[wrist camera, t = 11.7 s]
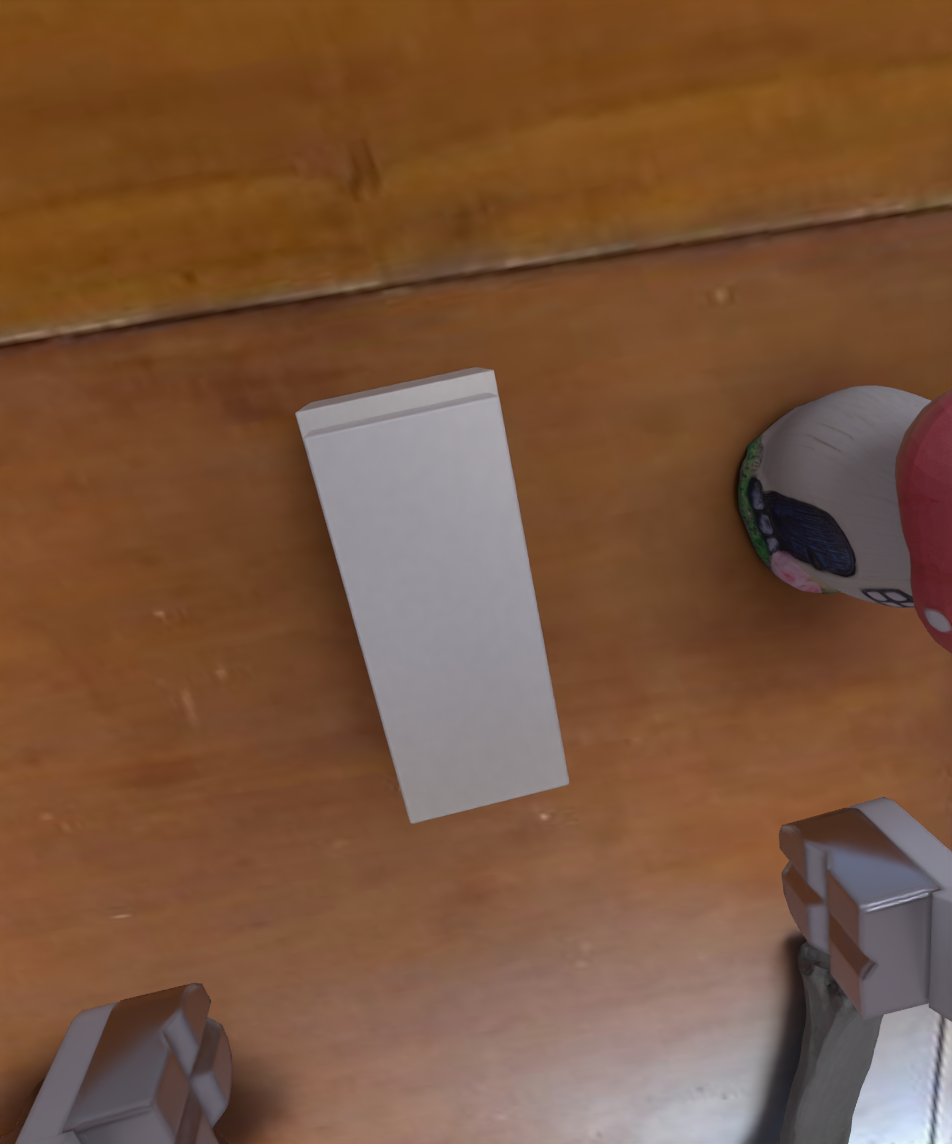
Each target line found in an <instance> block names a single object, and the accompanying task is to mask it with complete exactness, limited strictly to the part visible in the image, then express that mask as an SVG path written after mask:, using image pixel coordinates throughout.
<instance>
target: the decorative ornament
mask: <svg viewBox="0 0 952 1144" xmlns="http://www.w3.org/2000/svg"><path fill="white" fill-rule="evenodd" d="M738 503H739V510H740V513H741V516H742V519H743V521H744V524H745V526H746V529H747V531H748V534H749V536H750V539H751V541H752V544H753V546H754V549H755V550H756V551H757V553H758V554H759V556H760V557H761V559H762V560H763V562H764V563H765V564H766V566H767V567H768V568H769V569H770V571H771V572H772V573H773V574H774V575H775V576H776V577H778V578H779V579H781V580H782V581H784V582H786V583H788V584H790V585H791V586H793V587H795V588H797V589H799V590H801V591H807V592H815V593H838V592H843V593H845V594H847V595H850V596H852V597H855V598H858V599H861V600H865V601H869V602H873V603H878V604H881V605H887V606H893V607H915V609H916V611H917V614H918V616H919V618H920V619H921V621H922V623H923V624H924V626H925V628H926V629H927V631H928V632H929V634H930V635H931V636H932V637H933V639H934V640H935V641H936V642H937V643H938V644H940V645H941V646H942V647H943V648H945V649H946V650H948V651H949V652H950V653H952V390H950V391H948V392H946V393H944V394H942V395H941V396H939V397H937V398H935V399H934V400H933V401H930V400H927V399H925V398H923V397H920V396H918V395H915V394H912V393H909V392H906V391H902V390H898V389H894V388H890V387H883V386H874V385H871V386H855V387H851V388H847V389H843V390H840V391H837V392H834V393H831V394H828V395H826V396H824V397H822V398H820V399H817V400H814V401H812V402H809V403H807V404H804V405H802V406H799V407H796V408H794V409H793V410H792V411H790V412H789V413H787V414H786V415H784V416H783V417H781V418H780V419H779V420H777V421H776V422H775V423H774V424H772V425H771V426H770V427H769V428H768V429H767V430H766V431H765V432H763V433H762V434H761V435H760V436H759V437H758V438H757V439H756V440H755V441H753V442H752V443H751V444H750V445H748V448H747V455H746V458H745V459H744V461H743V463H742V466H741V469H740V478H739V485H738Z"/></svg>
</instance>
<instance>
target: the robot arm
mask: <svg viewBox="0 0 952 1144" xmlns="http://www.w3.org/2000/svg"><path fill="white" fill-rule="evenodd" d="M779 842H780V849H781V850H782V852H783V853H784V854H785V856H786V857H787V858H788V859H789V862H788V864H787V865H786V867H785V868H784V870H783V872H782V873H781V874H782V883H783V892H784V895H785V898H786V901H787V904H788V907H789V910H790V913H791V915H792V917H793V919H794V921H795V922H796V924H797V926H798V928H799V930H800V931H801V933H802V934H803V935H804V937H805V938H806V940H807V941H808V943H809V944H810V945H811V946H813V947H815V948H817V949H819V950H821V951H823V952H825V953H827V954H829V955H830V972H831V975H832V976H833V978H834V979H835V980H836V982H837V983H838V985H839V986H840V987H841V989H842V990H843V991H844V993H845V994H846V996H847V997H848V998H849V1000H850V1001H851V1002H852V1004H853V1005H854V1007H855V1008H856V1009H857V1011H858V1012H859V1013H860V1015H861V1016H862V1018H863V1019H868V1018H872V1017H876V1016H880V1015H884V1014H888V1013H892V1012H896V1011H900V1010H904V1009H908V1008H912V1007H916V1006H920V1005H924V1004H928V1003H929V1008H931V1009H933V1010H934V1011H936V1012H937V1013H939V1014H940V1015H942V1016H944V1017H945V1018H947V1019H948V1020H950V1021H952V851H950V850H949V849H948V848H947V847H946V846H945V845H944V844H942V843H941V842H940V841H939V840H938V839H937V838H936V837H934V836H933V835H932V834H931V833H930V832H929V831H928V830H926V829H925V828H924V827H923V826H922V825H921V824H920V823H918V822H917V821H916V820H915V819H914V818H913V817H912V816H910V815H909V814H908V813H907V812H906V811H905V810H904V809H902V808H901V807H900V806H899V805H898V804H897V803H896V802H894V801H893V800H891V799H888V798H886V797H882V798H878V799H874V800H871V801H867V802H864V803H860V804H856V805H853V806H850V807H849V808H842V809H839V810H835V811H832V812H828V813H824V814H821V815H817V816H814V817H810V818H806V819H803V820H799V821H796V822H792V823H788V824H785V825H782V827H781V830H780V832H779ZM210 1004H211V1000H210V998H209V996H208V994H207V992H206V990H205V988H204V986H203V984H202V983H191V984H187V985H183V986H179V987H175V988H171V989H166V990H162V991H158V992H154V993H150V994H146V995H141V996H137V997H133V998H129V999H125V1000H121V1001H120V1002H116V1003H112V1004H107V1005H103V1006H99V1007H95V1008H90V1009H86V1010H82V1012H81V1013H80V1014H79V1015H78V1016H77V1017H76V1018H75V1019H74V1020H73V1021H72V1022H71V1024H70V1026H69V1028H68V1030H67V1032H66V1035H65V1037H64V1039H63V1041H62V1043H61V1045H60V1048H59V1050H58V1052H57V1054H56V1056H55V1058H54V1061H53V1063H52V1065H51V1067H50V1069H49V1071H48V1074H47V1076H46V1078H45V1080H44V1082H43V1084H42V1087H41V1089H40V1091H39V1093H38V1095H37V1097H36V1100H35V1102H34V1104H33V1106H32V1108H31V1110H30V1113H29V1115H28V1117H27V1119H26V1121H25V1124H24V1126H23V1128H22V1130H21V1132H20V1134H19V1137H18V1139H17V1141H16V1143H15V1144H219V1143H218V1141H217V1139H216V1137H215V1135H214V1133H213V1130H212V1128H213V1126H214V1125H215V1124H216V1122H217V1121H218V1119H219V1118H220V1117H221V1115H222V1114H223V1112H224V1111H225V1110H226V1108H227V1107H228V1101H229V1096H230V1090H231V1085H232V1055H231V1050H230V1045H229V1040H228V1037H227V1035H226V1033H225V1030H224V1028H223V1026H222V1025H221V1024H219V1023H217V1022H216V1021H214V1020H212V1019H210V1018H208V1017H207V1016H208V1012H209V1008H210Z"/></svg>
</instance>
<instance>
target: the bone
mask: <svg viewBox="0 0 952 1144" xmlns="http://www.w3.org/2000/svg"><path fill="white" fill-rule="evenodd" d="M797 962H798V967H799V971H800V973H801V976H802V978H803V983H804V990H805V999H806V1007H807V1015H806V1023H805V1029H804V1032H803V1037H802V1046H801V1054H800V1060H799V1064H798V1067H797V1070H796V1073H795V1076H794V1079H793V1083H792V1086H791V1089H790V1093H789V1097H788V1101H787V1106H786V1109H785V1115H784V1120H783V1124H782V1128H781V1133H780V1138H779V1144H848V1142H849V1137H850V1132H851V1125H852V1116H853V1113H854V1109H855V1106H856V1103H857V1100H858V1097H859V1093H860V1090H861V1087H862V1085H863V1082H864V1080H865V1078H866V1075H867V1073H868V1071H869V1069H870V1065H871V1062H872V1058H873V1053H874V1048H875V1045H876V1042H877V1038H878V1035H879V1029H880V1024H881V1020H882V1017H883V1015H880V1016H876V1017H872V1018H868V1019H863V1018H862V1016H861V1015H860V1013H859V1012H858V1011H857V1009H856V1008H855V1007H854V1005H853V1004H852V1002H851V1001H850V1000H849V998H848V997H847V996H846V994H845V993H844V991H843V990H842V989H841V987H840V986H839V985H838V983H837V982H836V980H835V979H834V978H833V976H832V975H831V972H830V955H829V954H827V953H825V952H823V951H821V950H819V949H817V948H815V947H813V946H811V945H810V944H809V943H808V942H805V943H804V944H803V945H802V946H801V948H800V951H799V954H798V960H797Z"/></svg>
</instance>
